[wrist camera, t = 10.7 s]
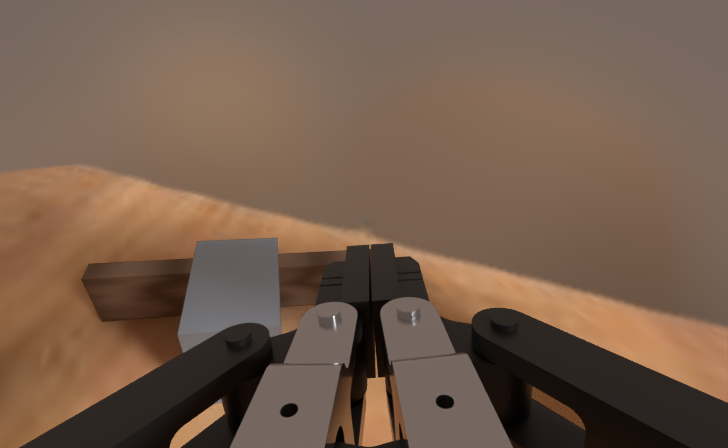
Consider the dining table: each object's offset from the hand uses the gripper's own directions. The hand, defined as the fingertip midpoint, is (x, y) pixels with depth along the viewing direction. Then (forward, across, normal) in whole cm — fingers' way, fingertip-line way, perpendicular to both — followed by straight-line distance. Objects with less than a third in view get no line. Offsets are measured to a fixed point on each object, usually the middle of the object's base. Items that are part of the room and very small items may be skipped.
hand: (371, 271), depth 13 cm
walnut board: (+25, +14, +16) cm, 33 cm away
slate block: (+20, +14, +18) cm, 30 cm away
